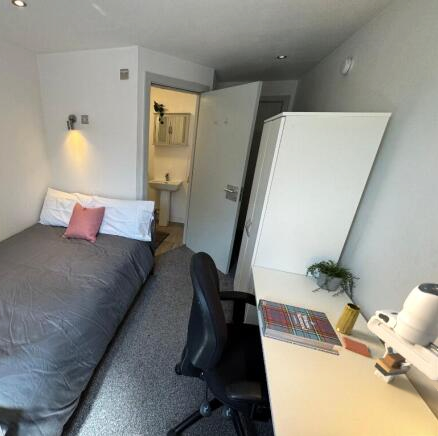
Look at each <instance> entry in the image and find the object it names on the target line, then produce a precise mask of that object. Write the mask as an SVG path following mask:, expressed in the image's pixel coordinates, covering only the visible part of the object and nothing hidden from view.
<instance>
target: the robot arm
mask: <svg viewBox="0 0 438 436" xmlns="http://www.w3.org/2000/svg"><path fill="white" fill-rule="evenodd" d="M366 327H367V329H368V330H369V331H370V332H372V333H373V334H374V335H375V336H376V337H378V339H380V340H382V342H384V348H385V352H386V353H385V352H384V354H385V355H386V354H393V349H394V350H395V351H397V352H398V353H399V354H400V355H401V356H403V357H404V358H405V359H406V360H405V361H406V362H407V363H406V362H404V361H402V362H401V361H400V362H399V363H398V364H397V365H398V366H399V367H400V368H401V369H406V368H407V367H408V366H414V367H415V368H416V369H418V370H419V371H420V372H421V373H422V374H424V375H425V376H426V377H427V378H429V380H432V381H433V382H438V345H436V344H435V342H436V340H437V339H438V283H434V282H422V283H420V284H418V285H417V286H415V287H414V288H413V289H412V290H411V291H410V292H409V294H408V295H407V297H406V299H405V301H404V302H403V307H402V309H401V310H400V311H398V310H395V309H380V310H376V311H375V315H372V316H371V317H370V319H369V320H368V322H367V324H366Z"/></svg>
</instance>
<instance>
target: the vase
mask: <svg viewBox="0 0 438 436" xmlns="http://www.w3.org/2000/svg"><path fill="white" fill-rule="evenodd" d="M361 312H362V308H361V306H359V305H358V304H355V303H353V302H347V303H345V306H344V309H343V310H342V312H341V314H340V317H339V318H338V320H337V322H336V324H335V326H334V327H335V329H336V330H337V331H338V332H339V333H341V334H343V335H346V336H350V335H352V332H353V330H354V327H355V324H356V322H357V320H358V318H359V316H360V313H361Z"/></svg>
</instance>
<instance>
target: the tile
mask: <svg viewBox="0 0 438 436" xmlns="http://www.w3.org/2000/svg"><path fill="white" fill-rule="evenodd" d="M342 341H343V345H344V348H345V349H346V350H348V351H351V352H353V353H356V354H359V355H362V356H364V357H366V358H370V356H371V355H370V352H369V349H368V346H367V344H365V343H362V342H359V341H356V340H353V339H351V338H348V337H345V336H343V338H342Z"/></svg>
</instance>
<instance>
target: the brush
mask: <svg viewBox="0 0 438 436" xmlns="http://www.w3.org/2000/svg"><path fill="white" fill-rule="evenodd" d="M405 360H406V359H405V358H404V357H403V356H401V355H400V354H399V353H393V354H386V356H385V358H383V357H379V358H376V361H375V364H374V368H375V369H378V370H379V371H380V372H381V373H382V374H383V375H384V376H391V375H395V376H399V375H406V374H407V372H409V371H410V370H411V369H412V367H411V365H409V366H408V367H407V368H406V369H401V368H400V367H399V366H398V365H397V364H398V363H399V362H400V361H401V362H402V361H404V362H406V361H405ZM406 363H407V362H406Z"/></svg>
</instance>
